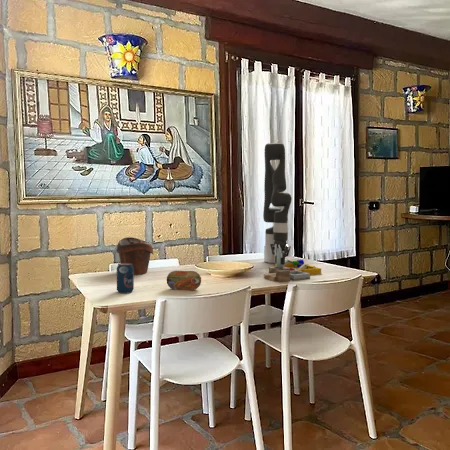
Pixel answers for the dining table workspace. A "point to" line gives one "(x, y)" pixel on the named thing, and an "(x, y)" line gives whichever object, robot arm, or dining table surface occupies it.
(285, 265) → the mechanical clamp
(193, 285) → the tin
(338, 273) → the dining table surface
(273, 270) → the socket block
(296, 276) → the tray
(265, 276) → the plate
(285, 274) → the bench dog
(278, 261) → the dowel
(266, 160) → the robot arm
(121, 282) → the soda can
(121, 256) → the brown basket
